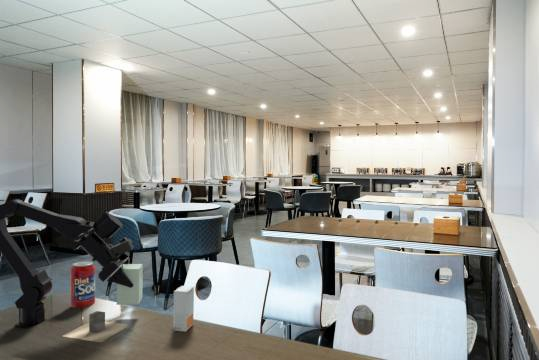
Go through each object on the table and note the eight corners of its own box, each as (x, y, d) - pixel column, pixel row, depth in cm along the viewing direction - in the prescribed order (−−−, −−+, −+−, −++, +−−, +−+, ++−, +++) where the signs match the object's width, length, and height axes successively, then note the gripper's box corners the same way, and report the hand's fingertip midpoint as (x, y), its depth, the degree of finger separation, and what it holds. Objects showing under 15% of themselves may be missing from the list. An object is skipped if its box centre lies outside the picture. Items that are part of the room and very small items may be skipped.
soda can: (80, 301, 146) (80, 260, 146) (99, 303, 144) (99, 261, 144) (65, 309, 138) (65, 265, 138) (85, 310, 137) (85, 266, 136)
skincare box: (186, 332, 120) (186, 292, 120) (172, 330, 121) (173, 291, 121) (194, 324, 126) (194, 286, 126) (181, 323, 127) (181, 285, 127)
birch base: (61, 339, 114) (61, 318, 113) (93, 323, 126) (93, 303, 126) (101, 345, 110) (101, 324, 110) (130, 328, 123) (130, 308, 122)
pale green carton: (116, 304, 125) (116, 269, 125) (121, 298, 132) (121, 264, 131) (138, 304, 126) (139, 268, 126) (142, 297, 133) (142, 263, 132)
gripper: (110, 235, 118) (148, 272, 120) (123, 226, 137) (157, 258, 139) (81, 263, 118) (120, 299, 119) (99, 250, 136) (132, 282, 138)
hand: (134, 283), depth 129 cm, fingers closed on pale green carton, 7 cm apart
